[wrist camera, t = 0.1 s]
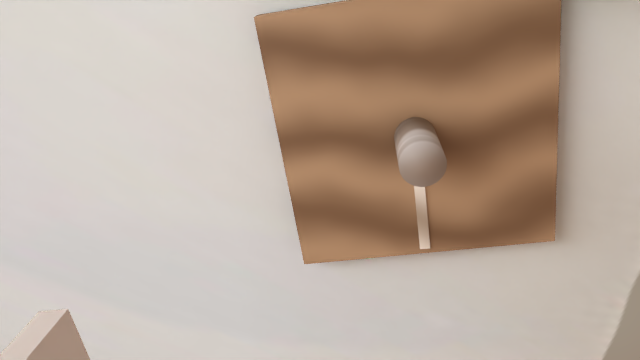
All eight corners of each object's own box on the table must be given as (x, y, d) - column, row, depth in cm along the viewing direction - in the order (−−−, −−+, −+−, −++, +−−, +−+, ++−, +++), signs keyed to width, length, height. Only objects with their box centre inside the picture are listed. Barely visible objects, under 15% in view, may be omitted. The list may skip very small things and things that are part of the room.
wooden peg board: (258, 14, 36) (235, 28, 29) (554, -34, 33) (599, -31, 27) (306, 254, 44) (296, 305, 37) (548, 231, 41) (582, 282, 34)
